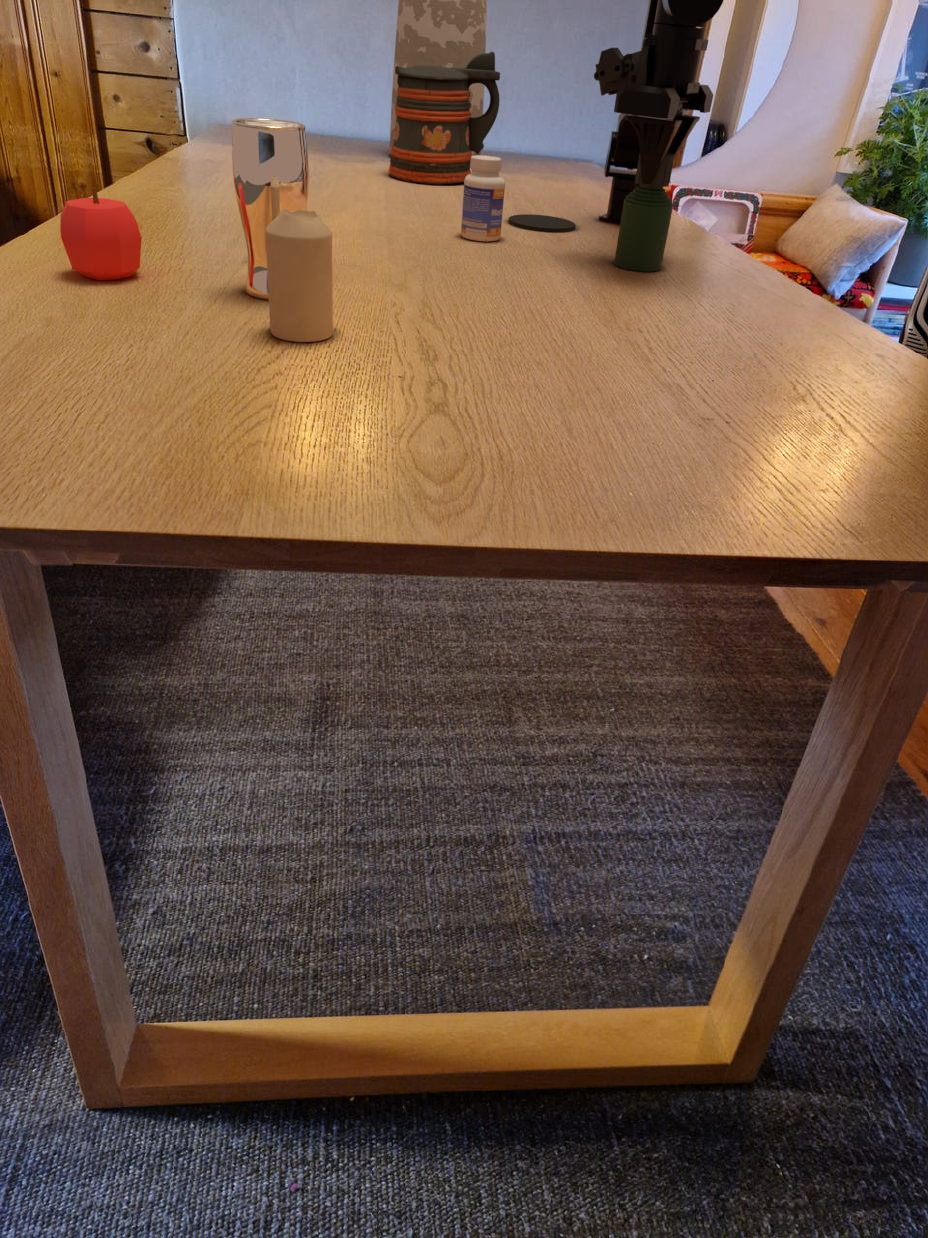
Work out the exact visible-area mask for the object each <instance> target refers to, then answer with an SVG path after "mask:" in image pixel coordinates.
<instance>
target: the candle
mask: <svg viewBox="0 0 928 1238" xmlns="http://www.w3.org/2000/svg"><path fill="white" fill-rule="evenodd" d="M265 236H266V255H267V275H268V295H269V300H268V311H269V315H268V316H269V327H270V328H269V329H270V333H271V334H272V335H273V336H274V337H275V338H278V339H281V340H284V341H290V342H296V343H311V342H320V341H323V340H324V341H325V340H327V339H329V338H330V337H332V336H333V332H334V317H333V315H334V304H333V303H334V297H333V296H334V295H333V291H334V289H333V286H334V285H333V232H332V231H331V229H330V228H329V226H327V224H326V223H325V222H324V221H323V220H322V218H320V216H319V215H318V213H317V212H316V211H314V210H312V211H310V210H307V211H305V210H298V211H295V212H290V211H288V210H285V209H283V210H282V211H281V212H280V214H279V215H278V216H277V217H276V218H275V219H274V220H273V221H272V222H271V223H270V224H269V225H268V226H267V228H266V229H265Z"/></svg>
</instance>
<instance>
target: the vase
mask: <svg viewBox="0 0 928 1238" xmlns="http://www.w3.org/2000/svg"><path fill="white" fill-rule="evenodd" d="M487 3H488V2H487V0H398V6H397V15H396V16H397V17H396V30H395V45H394V57H393V73H392V86H391V87H392V88H391V89H392V90H391V107H390V131H389V154H390V155H391V147H392V145H393V144H394V135H395V125H396V114H395V111H396V105H397V104H396V102H397V96H398V94H397V93H398V84H397V78H398V75H397V74H396V73H395V68H396V66H400V67H403V68H408V67H413V66H441V67H447V68H466V66H467V64H468V63H469V61H470V60H471V59H472V58H473V57H475V56H477V55H479V54H483V53H487V51H486V49H487V48H486V47H487V17H488V15H487V14H488V11H487V7H488V5H487ZM468 91H469V92H470V98H469V102H470V103H471V107H470V109H469V110H470V112H471V117H472V118H474V117H480V116H482V115H483V114H484V105H485V103H484V101H485V85H483V84H481V83H475V84H472V85H470V87H469V89H468ZM481 151H482V150H481ZM481 151H480V152H479V154H478V155H481V153H482V152H481ZM471 153H472V156H476V155H477V154H476V152H474V151H471ZM470 162H471V159H470Z"/></svg>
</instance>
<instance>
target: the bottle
mask: <svg viewBox="0 0 928 1238" xmlns="http://www.w3.org/2000/svg"><path fill="white" fill-rule="evenodd" d="M673 208H674V204H673V199H671V196H670V195H668V192H666V189H665V187H653V186H646V185H641V184H640V186H637V189H634V190H633V192H630V194H629V195H627V196H626V198H625V199H624V204H623V211H622V217H621V223H619V229H618V236H617V243H616V248H615V249H616V250H615V255H614V260H613V261H614V262H613V263H614V265H615V266H616V267H618V268H621V269H625V270H628V271H632V272H633V271H634V272H644V273H650V272H657V271H658V272H659V271H661V269H662V266H663V261H664V255H665V250H666V245H667V239H668V235H669V229H670V224H671V219H672V214H673Z"/></svg>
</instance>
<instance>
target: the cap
mask: <svg viewBox="0 0 928 1238" xmlns="http://www.w3.org/2000/svg"><path fill="white" fill-rule="evenodd" d="M674 160H675V159H674V154H672V153H666V155H665V157H664V159H663V161H662V163H661V165H660V167H659V169H658V171H657V173H656V175H655V177H654V179H653V181H652V183H651V184H645V183H642V179H641V165H640V155H639V159H638V165H637V169H636V170H635V171H636V177H635V182H636V183H638V184H641V185H646V186H653V187H663V188H665V187H669V185H670V183H671V177H672V171H673V167H674Z"/></svg>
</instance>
